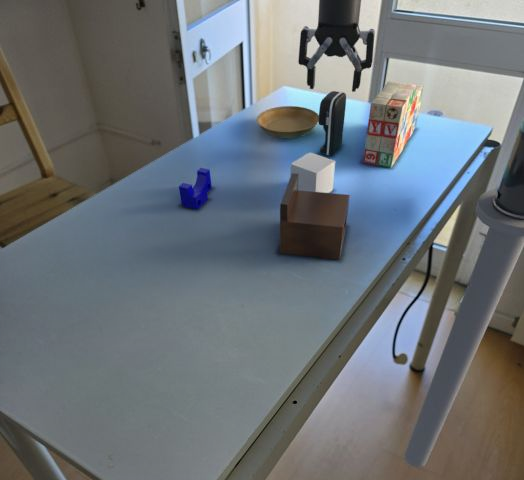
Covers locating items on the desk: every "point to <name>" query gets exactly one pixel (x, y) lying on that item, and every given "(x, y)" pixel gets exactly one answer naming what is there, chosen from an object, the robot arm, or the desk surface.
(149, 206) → the desk surface
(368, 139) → the stack of blocks
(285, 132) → the plant saucer
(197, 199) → the cable holder
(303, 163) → the white cube
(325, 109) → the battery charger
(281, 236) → the brown boxy piece
